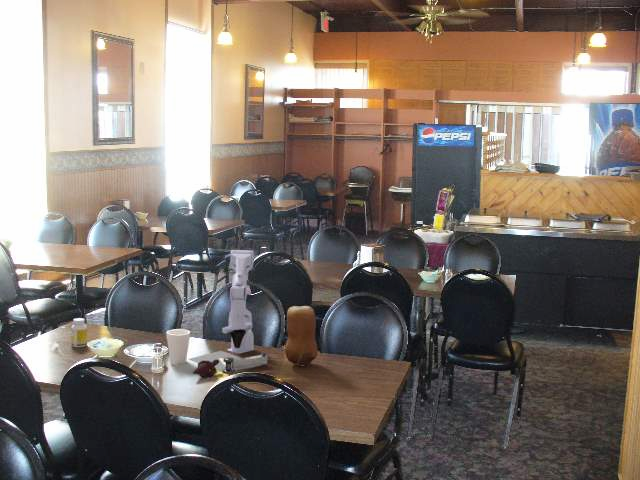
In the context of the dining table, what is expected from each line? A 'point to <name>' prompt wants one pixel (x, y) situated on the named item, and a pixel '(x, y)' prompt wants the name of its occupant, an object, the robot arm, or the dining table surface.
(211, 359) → the board
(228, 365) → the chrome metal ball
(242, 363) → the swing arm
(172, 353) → the foam cup
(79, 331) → the pill bottle
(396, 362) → the dining table surface
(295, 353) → the butternut squash
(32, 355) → the dining table surface
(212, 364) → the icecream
